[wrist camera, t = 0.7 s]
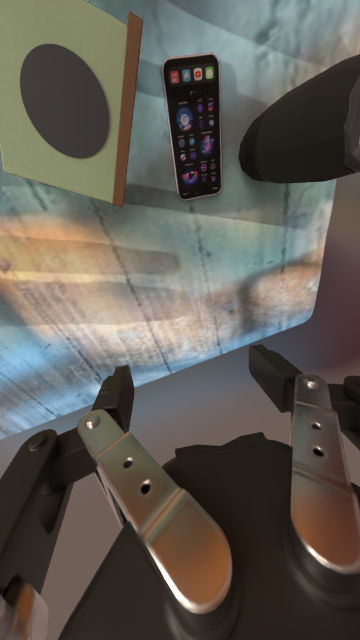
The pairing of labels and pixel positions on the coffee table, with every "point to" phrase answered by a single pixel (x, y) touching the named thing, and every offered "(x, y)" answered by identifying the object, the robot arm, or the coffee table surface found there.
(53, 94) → the green footstool with circle
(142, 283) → the coffee table surface
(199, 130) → the smartphone
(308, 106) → the portable speaker
